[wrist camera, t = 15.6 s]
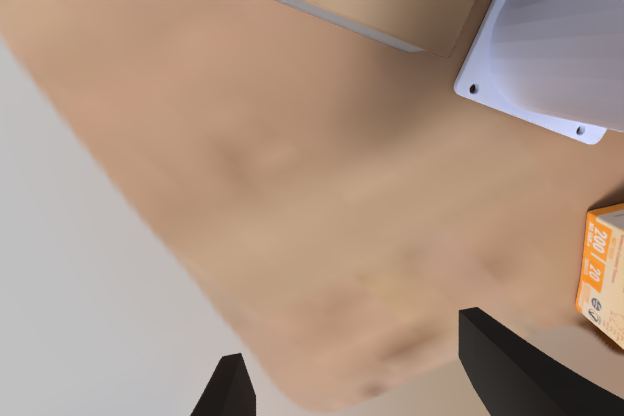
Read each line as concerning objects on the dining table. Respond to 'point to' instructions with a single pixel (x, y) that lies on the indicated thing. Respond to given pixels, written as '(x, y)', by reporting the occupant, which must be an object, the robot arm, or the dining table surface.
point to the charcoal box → (351, 25)
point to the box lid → (408, 19)
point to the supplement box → (604, 271)
